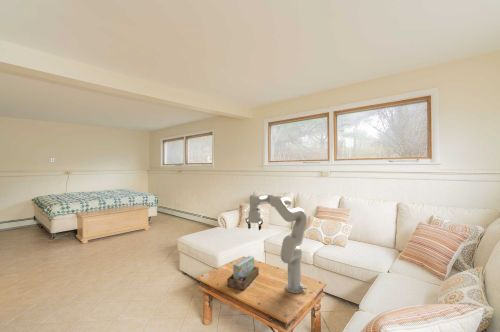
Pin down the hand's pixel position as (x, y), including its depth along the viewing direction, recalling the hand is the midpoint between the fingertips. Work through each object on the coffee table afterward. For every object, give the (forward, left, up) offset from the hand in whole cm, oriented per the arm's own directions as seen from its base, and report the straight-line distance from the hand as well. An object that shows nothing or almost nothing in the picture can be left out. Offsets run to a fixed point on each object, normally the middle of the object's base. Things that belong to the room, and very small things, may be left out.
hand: (254, 229), depth 201 cm
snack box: (+2, +18, -36) cm, 40 cm away
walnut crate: (+2, +18, -36) cm, 41 cm away
